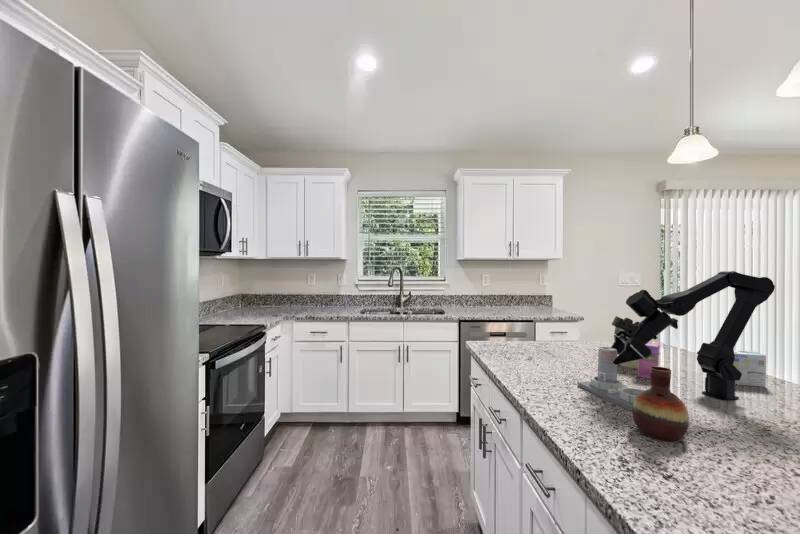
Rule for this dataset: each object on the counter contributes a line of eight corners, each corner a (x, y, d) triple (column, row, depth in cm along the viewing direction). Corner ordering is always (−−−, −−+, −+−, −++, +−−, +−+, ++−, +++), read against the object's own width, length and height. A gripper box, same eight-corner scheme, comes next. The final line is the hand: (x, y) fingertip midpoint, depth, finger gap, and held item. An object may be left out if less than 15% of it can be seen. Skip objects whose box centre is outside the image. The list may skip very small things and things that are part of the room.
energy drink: (612, 383, 124) (612, 347, 124) (619, 389, 119) (620, 350, 119) (594, 383, 124) (595, 346, 124) (601, 388, 119) (602, 350, 119)
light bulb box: (754, 381, 133) (754, 350, 133) (766, 387, 127) (767, 355, 127) (717, 378, 136) (718, 348, 136) (728, 384, 130) (729, 352, 130)
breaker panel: (671, 408, 106) (671, 397, 106) (631, 411, 104) (631, 399, 104) (612, 384, 128) (612, 374, 128) (577, 385, 125) (578, 376, 125)
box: (657, 380, 133) (657, 346, 133) (637, 377, 137) (638, 344, 137) (659, 373, 141) (659, 341, 141) (640, 370, 145) (641, 339, 145)
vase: (635, 420, 98) (636, 360, 98) (689, 432, 91) (691, 368, 91) (628, 434, 89) (629, 368, 89) (687, 449, 82) (688, 378, 82)
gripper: (621, 305, 129) (585, 335, 132) (639, 311, 111) (597, 346, 114) (647, 329, 126) (610, 360, 130) (670, 340, 109) (626, 375, 112)
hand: (610, 360), depth 121 cm, fingers open, 9 cm apart
